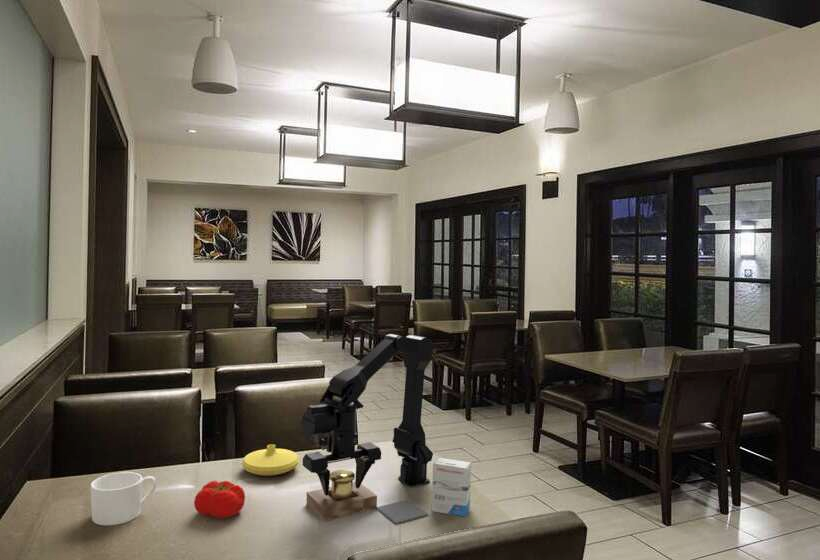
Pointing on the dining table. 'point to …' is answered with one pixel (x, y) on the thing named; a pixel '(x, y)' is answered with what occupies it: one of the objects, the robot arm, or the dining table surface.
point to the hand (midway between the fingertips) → (341, 491)
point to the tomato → (220, 499)
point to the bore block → (341, 503)
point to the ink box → (451, 487)
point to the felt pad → (401, 511)
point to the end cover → (341, 484)
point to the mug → (118, 497)
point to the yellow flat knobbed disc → (270, 461)
